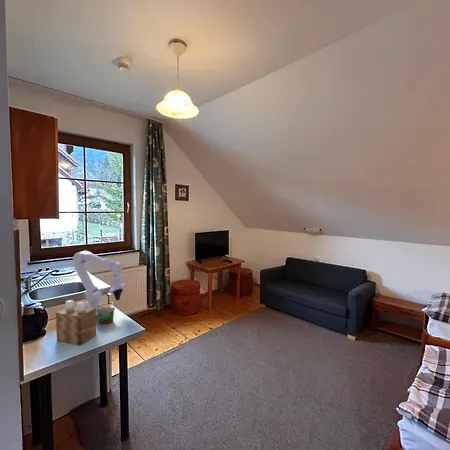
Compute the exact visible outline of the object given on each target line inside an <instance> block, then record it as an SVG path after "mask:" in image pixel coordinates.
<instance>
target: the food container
mask: <svg viewBox="0 0 450 450" xmlns="http://www.w3.org/2000/svg"><path fill="white" fill-rule="evenodd" d="M115 310H116V307H114V306H113V307H108V306H100V307H99V305H98V306H97V308H96V312H97V314H98V315H97V321H98V324H99V325H109V324H112V323H114V315H115V314H114V313H115Z"/></svg>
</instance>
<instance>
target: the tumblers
mask: <svg viewBox="0 0 450 450" xmlns="http://www.w3.org/2000/svg"><path fill="white" fill-rule="evenodd" d="M74 302H75V301H74V299H67V300H66V301H65V308H66V311H72V310H74V305H75V303H74ZM85 303H86V301H79V302H76V305H77V313H84V312H85Z"/></svg>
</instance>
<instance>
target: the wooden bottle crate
mask: <svg viewBox="0 0 450 450" xmlns="http://www.w3.org/2000/svg"><path fill="white" fill-rule="evenodd" d="M55 326H56V342H60V343H65V344H68V345H73V346H77V347H78V346H79V347H81V346H82V345H84V344H86V343H87V342H89V341H90V340H92V339H93V338H96V336H97V316H96V308H89V307H85V312H84V313H77V304H74V310H72V311H66V307H65V308H63V309H60V310H59V311H56V313H55Z"/></svg>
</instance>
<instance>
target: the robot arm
mask: <svg viewBox="0 0 450 450" xmlns="http://www.w3.org/2000/svg"><path fill="white" fill-rule="evenodd" d="M90 260H91V261H93V262H96V263H98V264H101V266H102V267H104V268H107V269H108V270H111V272H112V287H110V289H108V293H109V294H112V293H113V295H114V299H115V301H120V299H121V296H122V293H123V291H124V288H125V287H126V285H127V284H126V283H123V281H122V280H123V277H122V276H123V275H122V273H123V268H124V265H123V263H122V262H120V261H116V260H111V259H110V258H109V257H106V258H103V257H101V256H99V255H96V254H94V253H92V252H91V251H88V250H83V251H79V252H75V254H74V255H73V257H72V261H73V267H74V269H75V271H76V273H77V276H78V277H79V279H80V281H81V283H82V285H83V287H84V289H85V293H84V295H85V300H86V301H85V307H89V308H97V306H98V305H99V307H101V297H102V295H103V293H102V291H101V289H99V288H98V287H97V286H95V284H94V283H93V281H92V279H91V277H90V275H89V273H88V271H87V269H86V267H85V265H86V263H87V261H90ZM96 317H98V314H97V312H96Z"/></svg>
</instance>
